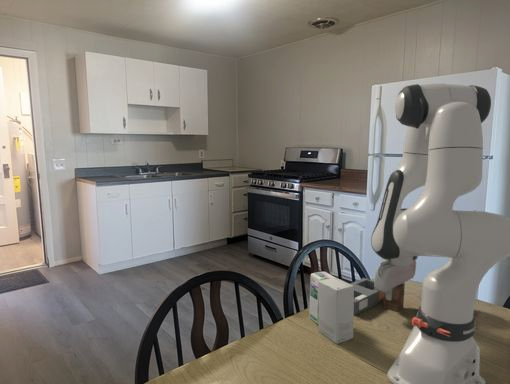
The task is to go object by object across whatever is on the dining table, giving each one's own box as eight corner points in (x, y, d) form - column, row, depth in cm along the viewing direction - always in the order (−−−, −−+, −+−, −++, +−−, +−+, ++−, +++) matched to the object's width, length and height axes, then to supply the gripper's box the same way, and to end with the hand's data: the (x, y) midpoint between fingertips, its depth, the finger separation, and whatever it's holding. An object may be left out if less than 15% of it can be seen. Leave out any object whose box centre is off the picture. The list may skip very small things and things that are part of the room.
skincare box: (353, 339, 99) (356, 286, 97) (335, 345, 96) (337, 290, 94) (333, 325, 107) (335, 275, 105) (316, 331, 104) (317, 280, 101)
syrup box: (308, 317, 112) (309, 273, 109) (323, 313, 114) (325, 270, 112) (319, 326, 106) (320, 279, 104) (335, 322, 109) (336, 276, 107)
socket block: (355, 316, 112) (356, 302, 112) (329, 304, 120) (329, 291, 120) (388, 298, 125) (389, 285, 125) (363, 289, 133) (363, 277, 132)
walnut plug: (396, 311, 115) (397, 288, 114) (383, 306, 119) (384, 284, 118) (403, 307, 118) (404, 284, 117) (390, 302, 122) (391, 280, 121)
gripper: (388, 266, 107) (386, 309, 109) (420, 252, 120) (417, 291, 122) (370, 261, 112) (368, 302, 114) (402, 248, 125) (400, 286, 127)
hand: (394, 296), depth 118 cm, fingers closed on walnut plug, 4 cm apart
